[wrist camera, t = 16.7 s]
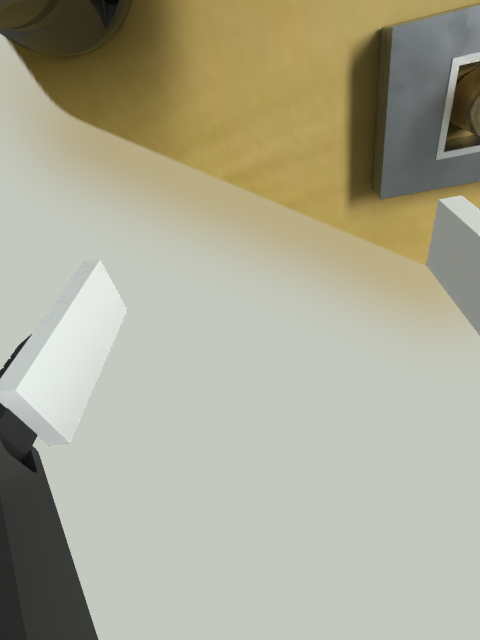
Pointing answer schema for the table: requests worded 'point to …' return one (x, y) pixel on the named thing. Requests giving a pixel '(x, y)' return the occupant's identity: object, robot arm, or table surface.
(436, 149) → the plate
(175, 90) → the table surface
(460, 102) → the brass domed cylinder
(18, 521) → the robot arm
